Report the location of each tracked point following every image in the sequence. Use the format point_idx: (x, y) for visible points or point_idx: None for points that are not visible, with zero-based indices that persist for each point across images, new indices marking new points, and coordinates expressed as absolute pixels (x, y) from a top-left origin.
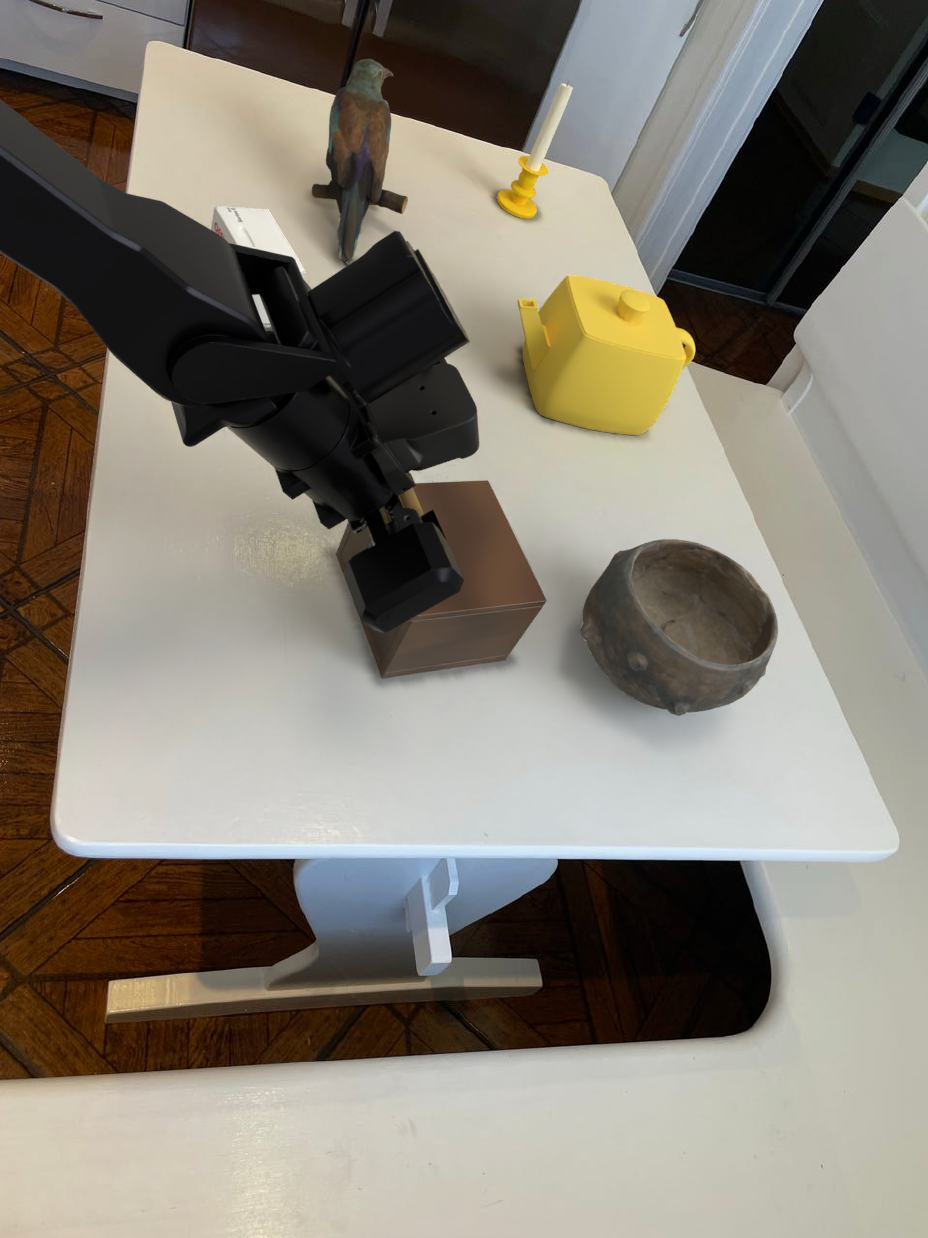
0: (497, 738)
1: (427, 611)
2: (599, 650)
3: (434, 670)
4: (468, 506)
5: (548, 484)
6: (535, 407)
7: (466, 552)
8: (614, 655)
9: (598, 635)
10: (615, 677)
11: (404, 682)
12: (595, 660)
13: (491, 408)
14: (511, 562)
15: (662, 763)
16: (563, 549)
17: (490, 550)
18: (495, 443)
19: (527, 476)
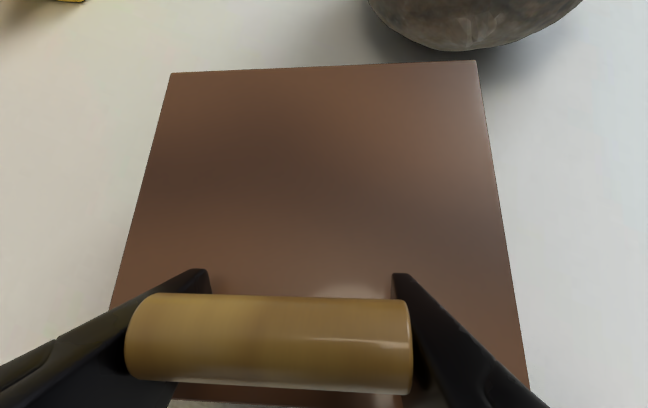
0: (562, 222)
1: (514, 347)
2: (506, 28)
3: None
4: (221, 130)
5: (181, 23)
6: (74, 1)
7: (337, 177)
8: (539, 5)
9: (495, 16)
10: (542, 26)
11: None
12: (484, 47)
13: (55, 49)
14: (374, 94)
15: (596, 32)
16: (276, 38)
17: (339, 125)
18: (104, 62)
19: (163, 42)
